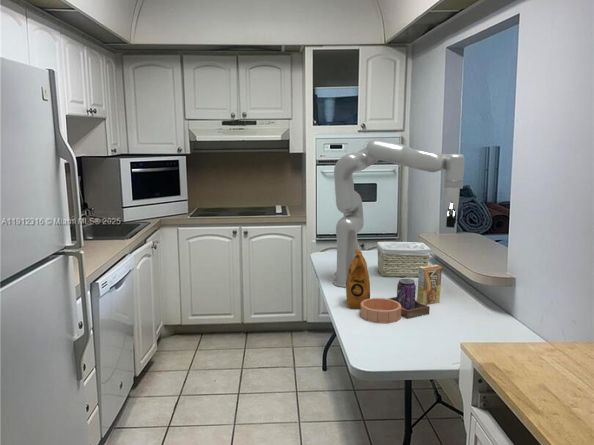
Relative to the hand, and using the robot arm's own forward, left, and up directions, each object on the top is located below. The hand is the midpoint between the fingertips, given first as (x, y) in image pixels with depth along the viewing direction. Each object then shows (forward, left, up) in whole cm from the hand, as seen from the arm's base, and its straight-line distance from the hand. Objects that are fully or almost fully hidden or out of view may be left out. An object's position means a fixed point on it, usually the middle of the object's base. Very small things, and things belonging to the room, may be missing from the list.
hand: (451, 225), depth 207 cm
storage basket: (-37, +6, -31) cm, 49 cm away
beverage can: (+5, -27, -31) cm, 41 cm away
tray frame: (+5, -27, -31) cm, 41 cm away
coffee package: (-9, -40, -31) cm, 51 cm away
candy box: (+2, -12, -31) cm, 34 cm away
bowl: (+6, -39, -31) cm, 50 cm away
